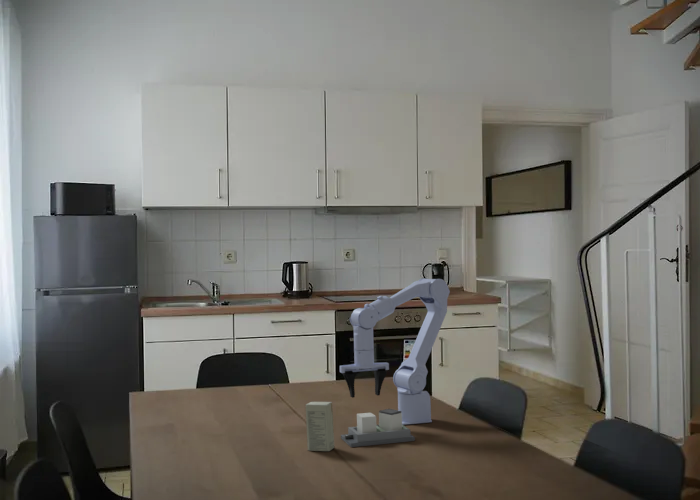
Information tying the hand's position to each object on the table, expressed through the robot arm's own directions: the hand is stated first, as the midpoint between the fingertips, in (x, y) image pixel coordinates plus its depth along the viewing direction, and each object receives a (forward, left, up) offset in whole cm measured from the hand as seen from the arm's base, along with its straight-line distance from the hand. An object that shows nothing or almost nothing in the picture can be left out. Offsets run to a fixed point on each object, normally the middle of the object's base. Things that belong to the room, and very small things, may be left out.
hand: (365, 395), depth 221 cm
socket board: (+1, +14, -9) cm, 17 cm away
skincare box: (+18, +18, -10) cm, 27 cm away
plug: (-3, +14, -8) cm, 16 cm away
